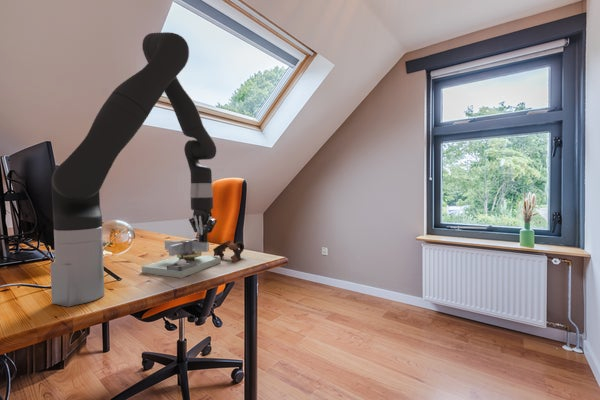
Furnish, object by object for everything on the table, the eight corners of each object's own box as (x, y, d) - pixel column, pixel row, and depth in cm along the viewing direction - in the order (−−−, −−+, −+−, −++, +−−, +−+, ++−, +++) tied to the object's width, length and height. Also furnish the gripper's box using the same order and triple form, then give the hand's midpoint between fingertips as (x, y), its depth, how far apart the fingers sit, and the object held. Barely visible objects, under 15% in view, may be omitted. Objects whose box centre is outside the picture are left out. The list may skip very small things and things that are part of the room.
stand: (181, 277, 85) (181, 266, 85) (141, 272, 90) (141, 262, 90) (220, 262, 103) (220, 253, 102) (185, 258, 108) (185, 249, 108)
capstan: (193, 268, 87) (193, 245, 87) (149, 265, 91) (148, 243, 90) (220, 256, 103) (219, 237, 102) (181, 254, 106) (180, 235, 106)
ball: (182, 268, 87) (182, 260, 87) (175, 268, 88) (175, 259, 88) (188, 266, 90) (188, 258, 90) (181, 265, 91) (181, 257, 91)
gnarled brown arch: (228, 265, 100) (217, 245, 101) (217, 272, 106) (206, 253, 107) (253, 251, 109) (242, 232, 110) (241, 258, 115) (231, 240, 116)
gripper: (222, 196, 100) (224, 244, 101) (199, 196, 107) (200, 241, 108) (204, 196, 94) (206, 248, 95) (181, 196, 101) (182, 244, 102)
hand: (203, 244), depth 101 cm, fingers closed
